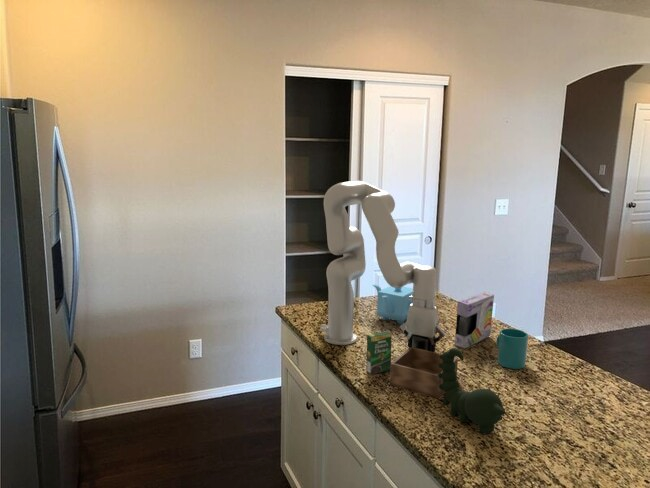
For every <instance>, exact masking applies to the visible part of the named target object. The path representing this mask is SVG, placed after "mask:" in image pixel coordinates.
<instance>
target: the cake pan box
mask: <svg viewBox="0 0 650 488" xmlns="http://www.w3.org/2000/svg"><path fill="white" fill-rule="evenodd" d="M494 298H495V294H493V293H489V292H486V291H484V292H480V293H479V294H474V295H471V296H468V297H467V298H464V299H461V300H458V301H457V306H456V307H457V309H456V310H457V311H456V322H455V334H454V335H455V336H454V346H456V347H457V348H458V347H459V348H461V349H467V348H469V347H471V346H473V345H475V344H477V343H479V342H481V341H483V340H485V339H487V338H489V337H491V329H492V322H493V321H492V318H493V310H494V309H493V308H494Z"/></svg>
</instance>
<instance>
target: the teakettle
mask: <svg viewBox="0 0 650 488" xmlns="http://www.w3.org/2000/svg"><path fill="white" fill-rule="evenodd" d="M372 287H373V288H375V290H376V292H377V302H376V303H377V305H376V306H377V307H376V317H379V318H381V320H382V321H389V320H393V321H396V323H397V324H399V325H402V324H403V323H405V322H404V321H407V316H408V310H409V306H410V304H412V301H411V300H409V296H413V287H408V286H403V287H401V288H394V287H391V286H390V285H388V286H387V287H384V288H383V289H382V288H381V287H380V286H379V285H377V284H372Z"/></svg>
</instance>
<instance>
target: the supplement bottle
mask: <svg viewBox="0 0 650 488" xmlns="http://www.w3.org/2000/svg"><path fill="white" fill-rule="evenodd" d="M430 343H431V342H430V339H429V337H424V336H419V335H415V334H413V335H412V346H411V347H414V348H418V349H422V350H426V351H429V345H430Z"/></svg>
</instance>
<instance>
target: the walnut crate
mask: <svg viewBox="0 0 650 488" xmlns="http://www.w3.org/2000/svg"><path fill="white" fill-rule="evenodd" d="M441 354H442V355H443V353H438V352H436V351H435V352H431V351H426V350H422V349H418V348H414V347H410V348H409V347H408V349H406V350H405V351H404V352H403V353H401V355H399V356H398V357H396V359H394V360H393V361H391V364H390V371H389V385H390V386H393V387H395V388H396V387H397V388H399V389H403V390H406V391H407V390H408V391H411V392H413V393H417V394H420V395H424V396H428V397H432V398H435V399H441V397H442V396H443V395H444V394H446V392H445V391H444V390H441V389H439V385H440V384H442V383H443V379H442V378H439V377H438V374H439V373H442V372H443V370H442V368H440V367H439V363H442V362H443V361H442V359H440V355H441ZM458 359H459V357H457V356H456V357H454V363H455V366H456V367H455V370H454V371H455V372H456V374H458V364H459V363H458V361H459V360H458Z"/></svg>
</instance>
